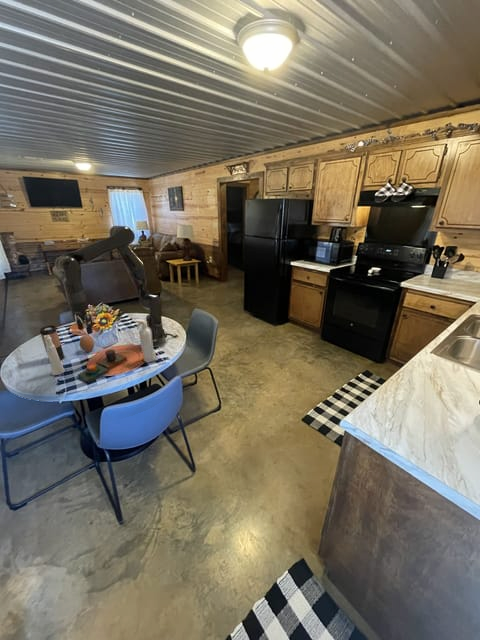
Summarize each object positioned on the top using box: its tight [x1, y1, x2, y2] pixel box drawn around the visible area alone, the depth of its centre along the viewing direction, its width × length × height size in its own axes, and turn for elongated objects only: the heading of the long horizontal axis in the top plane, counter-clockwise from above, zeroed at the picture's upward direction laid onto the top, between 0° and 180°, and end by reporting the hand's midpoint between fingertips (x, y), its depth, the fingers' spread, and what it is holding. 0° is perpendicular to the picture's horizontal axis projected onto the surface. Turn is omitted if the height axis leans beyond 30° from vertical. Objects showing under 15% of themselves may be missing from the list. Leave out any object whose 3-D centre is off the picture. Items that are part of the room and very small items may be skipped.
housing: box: [77, 364, 109, 384], centre depth 138 cm, size 11×9×4 cm
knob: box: [104, 349, 116, 362], centre depth 148 cm, size 5×5×5 cm
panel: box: [96, 352, 128, 372], centre depth 149 cm, size 12×10×3 cm
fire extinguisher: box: [134, 318, 159, 363], centre depth 148 cm, size 7×12×25 cm, turn 61°
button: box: [87, 364, 96, 371], centre depth 137 cm, size 4×4×2 cm
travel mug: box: [39, 325, 65, 361], centre depth 150 cm, size 8×8×20 cm
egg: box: [79, 334, 95, 353], centre depth 160 cm, size 8×8×11 cm
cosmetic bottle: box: [44, 335, 66, 376], centre depth 137 cm, size 6×6×22 cm
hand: (85, 331), depth 128 cm, fingers open, 8 cm apart
